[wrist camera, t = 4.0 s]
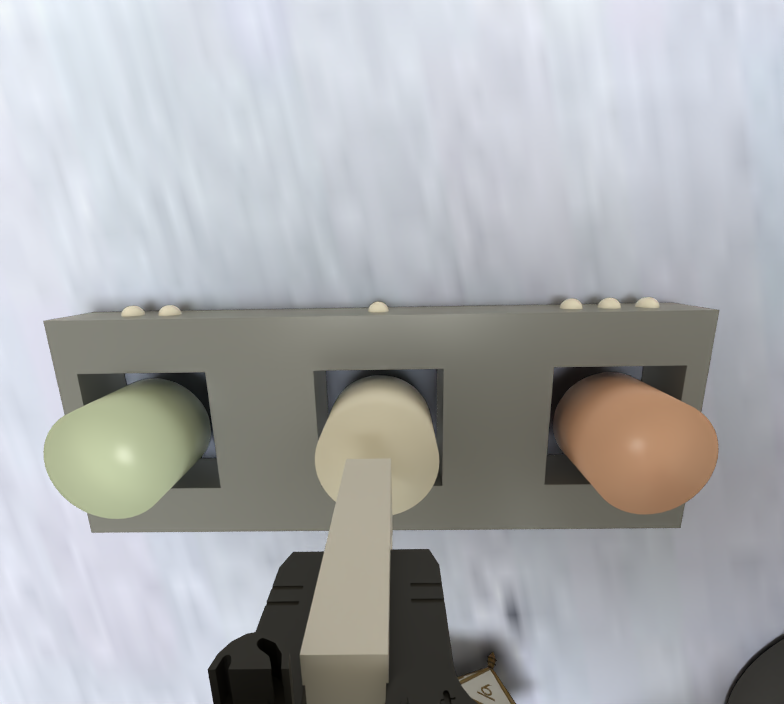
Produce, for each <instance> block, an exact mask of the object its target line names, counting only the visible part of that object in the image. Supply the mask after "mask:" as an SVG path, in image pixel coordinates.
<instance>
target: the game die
mask: <svg viewBox="0 0 784 704" xmlns="http://www.w3.org/2000/svg"><path fill="white" fill-rule="evenodd" d="M495 661H497V660H496V659H495V656H494V653H493V652H492V653H491V654H490V655H489V656H488V661H487V662H488V667H487V668H484V669H480V670H477V671H474V672H471V673H468V674H465V675H462V676H459V677H457V678H458V680H459V682H460V684H461V685H462V687H463V688H464V690H465V691H466V692H467V693H468V695H469V696H470V697H471V698H472V699H473V700H475V701H476V702H477V703H478V704H516V703H515V701H514V700H513V698H512V697H511V695H510V694H509V692H508V691H507V689H506V688H505V687H504V685H503V684H502V682H501V681H500V679H499V678H498V676H497V675H496V673H495V672H494V670H493V668H494V665H496V664H495Z"/></svg>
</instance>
